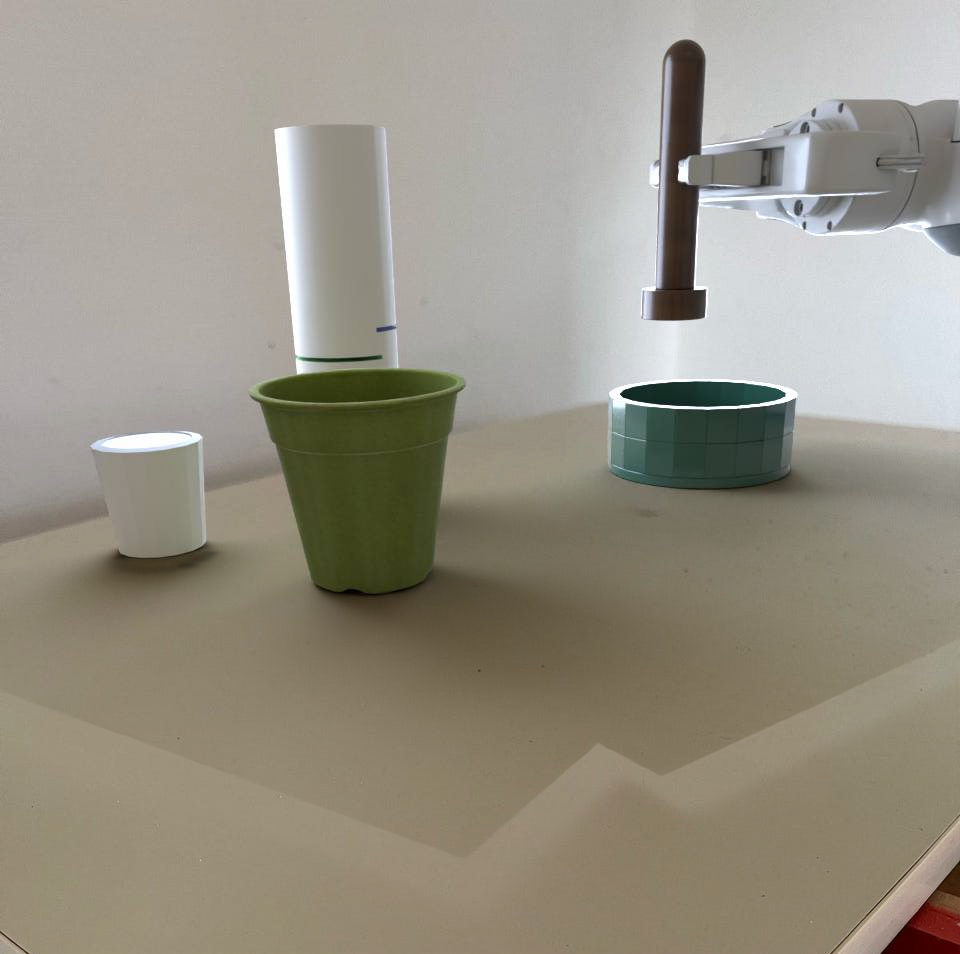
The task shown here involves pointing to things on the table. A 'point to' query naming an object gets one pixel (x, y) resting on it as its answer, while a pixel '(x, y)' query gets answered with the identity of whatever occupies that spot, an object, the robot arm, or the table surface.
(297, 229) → the cylindrical container
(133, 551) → the white short cylinder
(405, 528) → the plant pot
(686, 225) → the pestle
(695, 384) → the bowl
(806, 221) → the robot arm
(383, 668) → the table surface
